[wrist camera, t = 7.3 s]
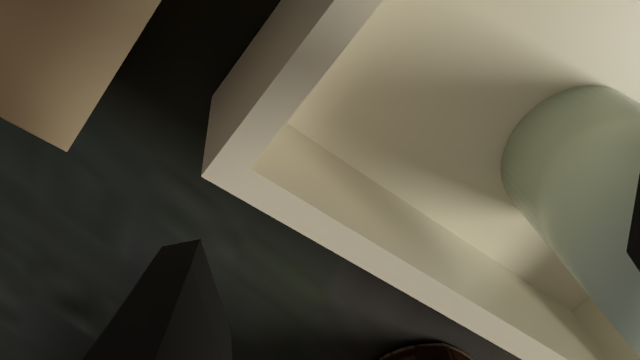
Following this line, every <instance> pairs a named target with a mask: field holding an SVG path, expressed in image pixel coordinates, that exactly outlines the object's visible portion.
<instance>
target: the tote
mask: <svg viewBox="0 0 640 360" xmlns="http://www.w3.org/2000/svg"><path fill="white" fill-rule="evenodd" d="M586 85H597V86H605V87H609V88H612V89H615V90H617V91H620V92H621V93H623V94H625V95H627V96H628V97H630V98H632V99H633V100H635V101H637V102H639V103H640V0H281V1H280V3H279V4H278V5H277V7H276V8H275V9H274V11H273V12H272V14H271V15H270V16H269V18H268V19H267V21H266V22H265V23H264V25H263V26H262V28H261V29H260V30H259V32H258V33H257V35H256V36H255V37H254V39H253V40H252V41H251V43H250V44H249V46H248V47H247V48H246V50H245V51H244V53H243V54H242V55H241V57H240V58H239V60H238V61H237V62H236V64H235V65H234V67H233V68H232V69H231V71H230V72H229V74H228V75H227V76H226V78H225V79H224V80H223V82H222V83H221V85H220V86H219V87H218V89H217V90H216V92H215V93H214V94H213V96H212V100H211V107H210V114H209V122H208V129H207V136H206V144H205V151H204V158H203V166H202V173H201V177H203V178H205V179H206V180H208V181H210V182H212V183H213V184H215V185H217V186H219V187H220V188H222V189H224V190H226V191H227V192H229V193H231V194H233V195H234V196H236V197H238V198H240V199H241V200H243V201H245V202H247V203H248V204H250V205H252V206H254V207H256V208H257V209H259V210H261V211H263V212H264V213H266V214H268V215H270V216H271V217H273V218H275V219H277V220H278V221H280V222H282V223H284V224H285V225H287V226H289V227H291V228H292V229H294V230H296V231H298V232H299V233H301V234H303V235H305V236H306V237H308V238H310V239H312V240H313V241H315V242H317V243H319V244H320V245H322V246H324V247H326V248H327V249H329V250H331V251H333V252H334V253H336V254H338V255H340V256H341V257H343V258H345V259H347V260H348V261H350V262H352V263H354V264H355V265H357V266H359V267H361V268H362V269H364V270H366V271H368V272H369V273H371V274H373V275H375V276H376V277H378V278H380V279H382V280H383V281H385V282H387V283H389V284H391V285H392V286H394V287H396V288H398V289H399V290H401V291H403V292H405V293H406V294H408V295H410V296H412V297H413V298H415V299H417V300H419V301H420V302H422V303H424V304H426V305H427V306H429V307H431V308H433V309H434V310H436V311H438V312H440V313H441V314H443V315H445V316H447V317H448V318H450V319H452V320H454V321H455V322H457V323H459V324H461V325H462V326H464V327H466V328H468V329H469V330H471V331H473V332H475V333H476V334H478V335H480V336H482V337H483V338H485V339H487V340H489V341H490V342H492V343H494V344H496V345H497V346H499V347H501V348H503V349H504V350H506V351H508V352H510V353H511V354H513V355H515V356H517V357H518V358H520V359H522V360H640V355H638V354H637V353H636V352H635V351H634V350H633V349H632V348H631V347H630V346H629V345H628V344H627V342H626V341H625V340H624V339H623V338H622V336H621V335H620V334H619V333H618V331H617V330H616V329H615V328H614V326H613V325H612V324H611V323H610V321H609V320H608V319H607V318H606V317H605V315H604V314H603V313H602V312H601V310H600V309H599V308H598V307H597V305H596V304H595V303H594V302H593V301H592V299H591V298H590V297H589V296H588V294H587V293H586V292H585V291H584V289H583V288H582V287H581V286H580V284H579V283H578V282H577V281H576V280H575V278H574V277H573V276H572V275H571V273H570V272H569V271H568V270H567V268H566V267H565V266H564V265H563V263H562V262H561V261H560V260H559V259H558V257H557V256H556V255H555V254H554V252H553V251H552V250H551V249H550V247H549V246H548V245H547V244H546V242H545V241H544V240H543V239H542V238H541V236H540V235H539V234H538V233H537V231H536V230H535V229H534V228H533V226H532V225H531V224H530V223H529V222H528V220H527V219H526V218H525V217H524V215H523V214H522V213H521V212H520V210H519V209H518V208H517V207H516V205H515V204H514V203H513V202H512V200H511V199H510V198H509V196H508V195H507V193H506V191H505V189H504V186H503V183H502V178H501V161H502V155H503V152H504V149H505V146H506V143H507V141H508V139H509V137H510V135H511V134H512V132H513V130H514V129H515V127H516V126H517V125H518V123H519V122H520V121H521V120H522V118H523V117H524V116H525V115H526V114H527V113H528V112H529V111H530V110H532V109H533V108H534V107H535V106H536V105H538V104H539V103H541V102H542V101H544V100H545V99H547V98H549V97H550V96H552V95H554V94H556V93H559V92H561V91H563V90H567V89H570V88H573V87H579V86H586Z"/></svg>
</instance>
